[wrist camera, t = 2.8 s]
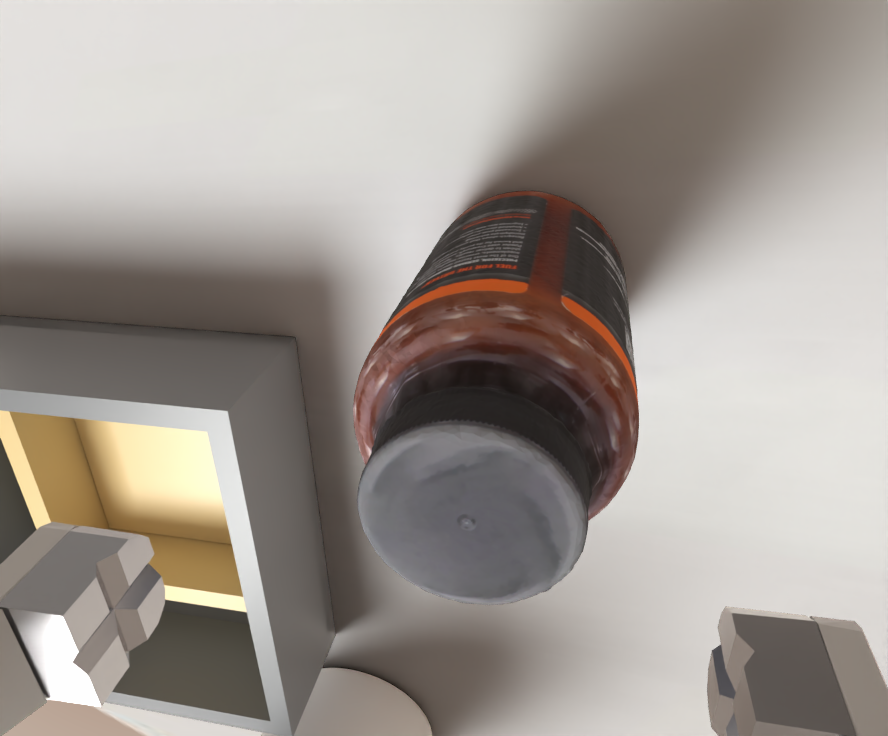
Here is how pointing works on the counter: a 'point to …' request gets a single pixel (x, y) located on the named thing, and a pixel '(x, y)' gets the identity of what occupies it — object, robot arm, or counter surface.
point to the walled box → (180, 500)
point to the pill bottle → (359, 708)
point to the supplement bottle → (499, 403)
